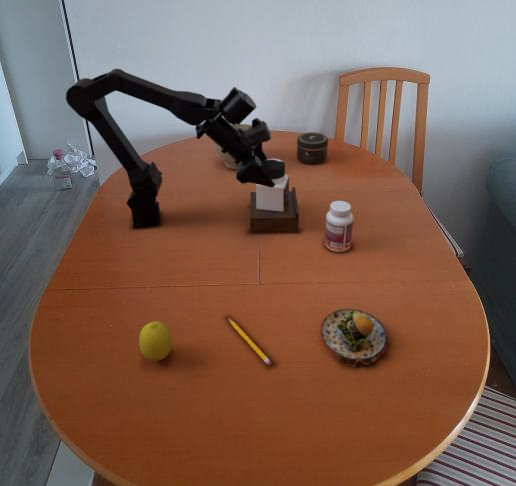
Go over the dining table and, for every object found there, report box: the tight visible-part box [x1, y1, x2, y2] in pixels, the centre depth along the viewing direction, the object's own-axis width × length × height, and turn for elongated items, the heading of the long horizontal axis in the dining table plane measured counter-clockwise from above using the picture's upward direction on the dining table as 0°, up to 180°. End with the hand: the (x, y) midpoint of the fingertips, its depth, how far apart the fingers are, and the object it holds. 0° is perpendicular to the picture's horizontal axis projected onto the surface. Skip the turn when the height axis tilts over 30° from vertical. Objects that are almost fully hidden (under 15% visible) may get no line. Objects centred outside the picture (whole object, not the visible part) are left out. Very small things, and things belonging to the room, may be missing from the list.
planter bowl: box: [213, 123, 264, 170], centre depth 143 cm, size 16×16×11 cm
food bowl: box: [320, 308, 388, 367], centre depth 80 cm, size 12×12×8 cm
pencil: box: [228, 318, 273, 367], centre depth 81 cm, size 1×13×1 cm, turn 37°
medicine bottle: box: [255, 158, 290, 212], centre depth 112 cm, size 7×7×12 cm
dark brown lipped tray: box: [249, 186, 300, 234], centre depth 115 cm, size 12×13×6 cm
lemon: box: [138, 321, 173, 362], centre depth 77 cm, size 6×6×8 cm
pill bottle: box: [324, 200, 354, 253], centre depth 104 cm, size 6×6×11 cm
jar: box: [296, 131, 329, 165], centre depth 146 cm, size 10×10×8 cm
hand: (273, 177), depth 111 cm, fingers open, 9 cm apart
